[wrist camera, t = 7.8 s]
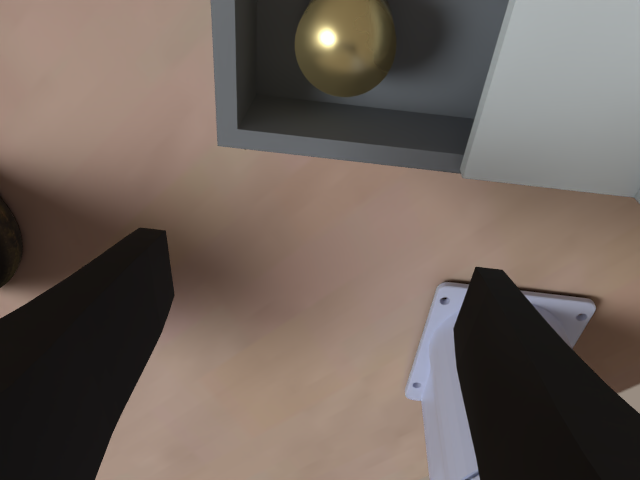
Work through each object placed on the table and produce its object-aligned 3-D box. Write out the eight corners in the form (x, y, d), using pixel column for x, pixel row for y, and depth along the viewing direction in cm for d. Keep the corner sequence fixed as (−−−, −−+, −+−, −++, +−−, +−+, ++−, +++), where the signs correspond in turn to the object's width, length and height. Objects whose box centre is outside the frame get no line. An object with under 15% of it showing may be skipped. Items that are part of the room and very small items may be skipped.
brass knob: (385, 77, 18) (387, 102, 16) (301, 68, 18) (292, 91, 16) (400, -18, 16) (405, -4, 14) (306, -28, 16) (297, -15, 14)
